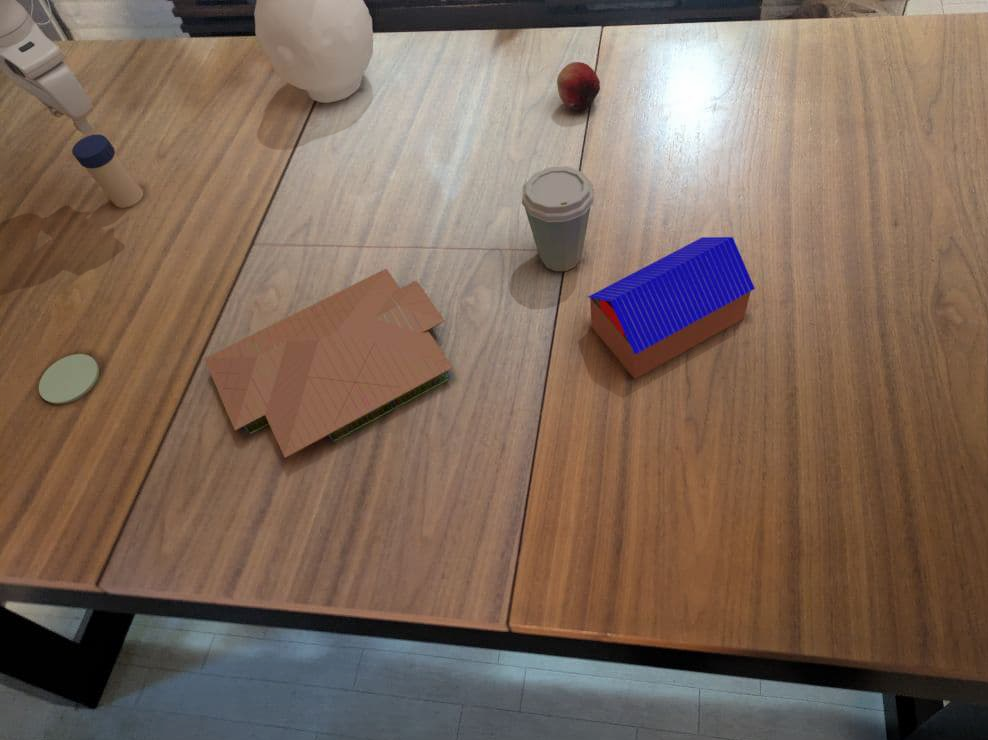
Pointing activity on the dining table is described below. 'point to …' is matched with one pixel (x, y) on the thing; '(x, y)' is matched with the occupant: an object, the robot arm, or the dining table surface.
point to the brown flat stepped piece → (332, 362)
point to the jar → (117, 182)
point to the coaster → (69, 379)
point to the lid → (93, 151)
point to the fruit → (578, 85)
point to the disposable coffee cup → (558, 214)
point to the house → (672, 303)
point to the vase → (316, 44)
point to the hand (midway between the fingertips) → (73, 122)
